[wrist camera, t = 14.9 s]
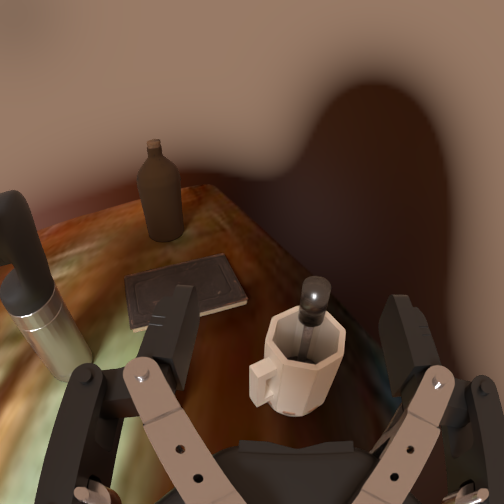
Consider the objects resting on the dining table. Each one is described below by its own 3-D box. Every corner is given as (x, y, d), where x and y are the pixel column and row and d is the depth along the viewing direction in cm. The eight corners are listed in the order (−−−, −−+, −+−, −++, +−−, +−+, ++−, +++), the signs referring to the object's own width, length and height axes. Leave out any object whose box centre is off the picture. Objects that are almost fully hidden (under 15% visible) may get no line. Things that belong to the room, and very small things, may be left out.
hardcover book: (248, 307, 62) (248, 298, 61) (133, 336, 55) (130, 328, 54) (223, 259, 74) (222, 251, 72) (126, 282, 67) (123, 274, 66)
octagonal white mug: (237, 388, 47) (233, 333, 38) (301, 356, 52) (314, 297, 43) (269, 436, 40) (276, 394, 31) (336, 397, 45) (361, 344, 36)
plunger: (265, 371, 45) (271, 277, 34) (302, 352, 48) (321, 257, 36) (290, 405, 40) (311, 319, 29) (329, 383, 43) (361, 293, 32)
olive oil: (168, 248, 76) (153, 150, 61) (138, 236, 80) (121, 146, 65) (194, 227, 84) (185, 136, 68) (164, 217, 88) (153, 132, 72)
